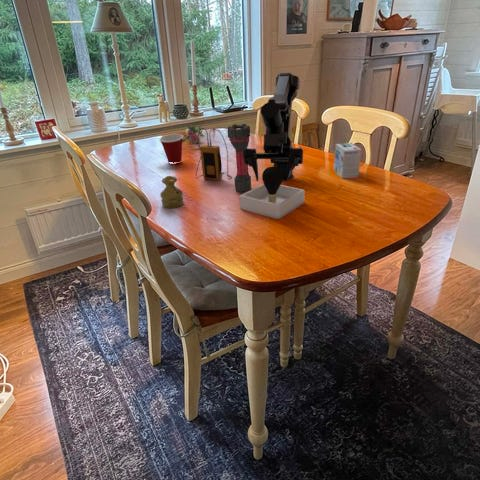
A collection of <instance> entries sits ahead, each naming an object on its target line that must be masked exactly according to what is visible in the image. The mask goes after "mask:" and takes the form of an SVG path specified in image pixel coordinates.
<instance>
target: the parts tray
mask: <svg viewBox="0 0 480 480" xmlns="http://www.w3.org/2000/svg"><path fill="white" fill-rule="evenodd" d="M305 193H306V191H305V189H302V188H297V187H292V186H287V185H283V184H281V185H280V187H279V189H278V190H277V192H276V202H275V203H271V202H268V191H267V189H266V187H265V185H264V183H262V184H260V185H258V186H256V187H254V188H252V189H249V190H248V191H245V192H244V193H242V194H241V195H239V208H240V210H244V211H247V212H249V213H250V212H251V213H255V214H258V215H262V216H265V217H269V218H272V219H276V220H281V219H282V218H283V217H285V216H287V215H288V214H289V213H291V212H293V211H294V210H295V209H297V208H298V207H300V206H302V205H303V204H305V197H306V196H305V195H306V194H305Z"/></svg>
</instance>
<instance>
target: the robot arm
mask: <svg viewBox="0 0 480 480" xmlns="http://www.w3.org/2000/svg"><path fill="white" fill-rule="evenodd" d="M300 83H301V82H300V78H299V76H297V75H294V74H293V73H292V72H279V73H278V74H277V76H276V78H275V90H274V93H273V96H271V97H270V98H268V101H267V102H266V103H264V104H263V105H262V106H261V108H260V115H261V117H262V122H263V125H264V126H265V134H264V135H263V147H262V148H263V151H264V152H257V150H256V149H257V148H247V149H245V150H244V151H243V158H244V162H245V164H248V167H251V168H252V170H253V172H254V176H255V177H254V178H255V180H256V182H259V167H258V160H270V164H273V167H278V168H279V169H281V171H282V173H283V182H284V181H286V182H288V181H289V179H291V178H293V177H294V174H293V171H294V169H295V167H299V165H302V164H303V162H304V149H303V148H302V147H293V143H292V140H291V138H290V129H291V121H292V119H291V118H292V108H293V107H292V106H293V101H295V99H296V98H297V96H298V91H299V90H300V85H301V84H300Z"/></svg>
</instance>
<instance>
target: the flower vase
mask: <svg viewBox="0 0 480 480" xmlns="http://www.w3.org/2000/svg"><path fill="white" fill-rule="evenodd" d="M201 128H202V127H201V125H199V126H198V129H197V128H196V127H195V125H191V126H190V125H188V126H187V128H186V129H185V135H183V139H182V143H185V142H186V141H190V143H189V145H192V146H193V144H194V145H195V144H197V145H198V140H199V142H200V137H202V138H204V137H205V135H204V134H203V133H204V130H202V129H201ZM200 129H201V130H202V131H200ZM199 131H200V133H199ZM198 133H199V136H198ZM187 135H188V136H189V137H188V136H187ZM189 145H188V146H189Z"/></svg>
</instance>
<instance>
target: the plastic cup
mask: <svg viewBox="0 0 480 480" xmlns="http://www.w3.org/2000/svg"><path fill="white" fill-rule="evenodd" d="M183 139H184V135H183V134H179V133H171V134H166V135H163V136H161V137H160V138H159V139H158V141H159V142H160V143H161V145H162V147H163V151H164V153H165V157H166V158H167V163H169V162H173V163H174V162H180V161H181V162H182V155H183V142H182V140H183Z"/></svg>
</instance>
